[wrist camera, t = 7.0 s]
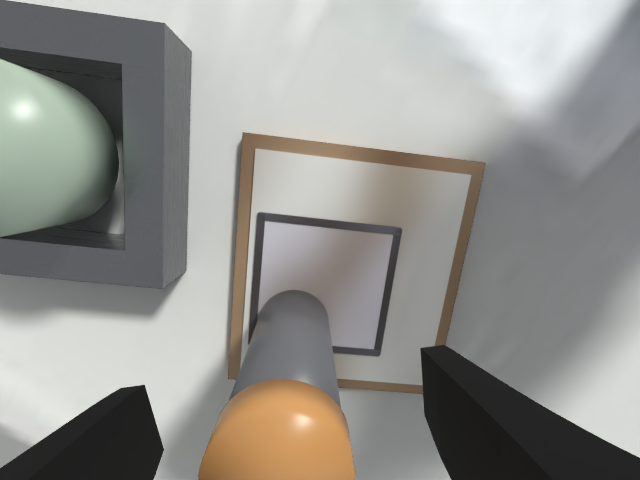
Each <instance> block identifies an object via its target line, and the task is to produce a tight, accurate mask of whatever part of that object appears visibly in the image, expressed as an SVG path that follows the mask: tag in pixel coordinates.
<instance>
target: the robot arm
mask: <svg viewBox="0 0 640 480" xmlns="http://www.w3.org/2000/svg"><path fill="white" fill-rule="evenodd" d="M420 351H421V367H422V382H423V398H424V413H425V417H426V420H427V423H428V425H429V428H430V431H431V434H432V436H433V439H434V441H435V444H436V447H437V449H438V452H439V454H440V457H441V459H442V461H443V463H444V465H445V467H446V469H447V471H448V473H449V475H450V478H451V480H640V458H639V457H637V456H635V455H633V454H631V453H629V452H627V451H625V450H623V449H621V448H619V447H617V446H615V445H613V444H611V443H609V442H607V441H605V440H603V439H601V438H599V437H597V436H595V435H594V434H592V433H590V432H588V431H586V430H584V429H583V428H581V427H579V426H577V425H575V424H574V423H572V422H570V421H568V420H566V419H565V418H563V417H561V416H559V415H557V414H556V413H554V412H552V411H550V410H548V409H547V408H545V407H543V406H542V405H540V404H538V403H537V402H535V401H533V400H531V399H530V398H528V397H526V396H525V395H523V394H521V393H520V392H518V391H516V390H515V389H513V388H512V387H510V386H508V385H507V384H505V383H503V382H502V381H500V380H499V379H497V378H496V377H494V376H492V375H491V374H489V373H488V372H486V371H484V370H483V369H481V368H480V367H478V366H477V365H475V364H474V363H472V362H470V361H469V360H467V359H466V358H464V357H463V356H461V355H460V354H458V353H456V352H455V351H453V350H452V349H450V348H448V347H447V346H445V345H439V346H431V347H424V348H420ZM163 451H164V448H163V445H162V442H161V438H160V435H159V432H158V428H157V425H156V422H155V418H154V415H153V412H152V408H151V405H150V402H149V398H148V395H147V392H146V388H145V385H141V386H133V387H126V388H121V389H119V390H117V391H115V392H114V393H112V394H110V395H109V396H107V397H105V398H104V399H102V400H101V401H99V402H98V403H96V404H94V405H93V406H91V407H90V408H88V409H87V410H85V411H84V412H82V413H81V414H79V415H78V416H76V417H75V418H74V419H72V420H71V421H69V422H68V423H66V424H65V425H63V426H62V427H60V428H59V429H57V430H56V431H54V432H53V433H52V434H50V435H49V436H47V437H46V438H44V439H43V440H41V441H40V442H38V443H37V444H35V445H34V446H33V447H31V448H30V449H28V450H27V451H25V452H24V453H22V454H21V455H19V456H18V457H16V458H15V459H13V460H12V461H11V462H9V463H8V464H6V465H4V466H3V467H2V468H0V480H153V479H154V476H155V474H156V471H157V468H158V465H159V462H160V459H161V457H162V454H163Z"/></svg>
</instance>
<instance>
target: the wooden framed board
mask: <svg viewBox="0 0 640 480" xmlns="http://www.w3.org/2000/svg"><path fill="white" fill-rule="evenodd" d="M485 164H486V163H483V162H475V161H467V160H459V159H451V158H443V157H435V156H427V155H419V154H411V153H403V152H395V151H387V150H379V149H371V148H363V147H355V146H347V145H339V144H331V143H323V142H315V141H307V140H299V139H292V138H284V137H276V136H268V135H260V134H252V133H244V132H243V136H242V153H241V169H240V186H239V203H238V220H237V237H236V253H235V270H234V287H233V304H232V321H231V337H230V354H229V371H228V379H236V380H237V377H238V374H239V372H240V369H241V366H242V363H243V360H244V358H245V355H246V352H247V349H248V346H249V344H250V341H251V338H252V335H253V332H254V329H255V327H256V324H257V321H258V318H259V315H260V313H261V310H262V308H263V306H264V305H265V303H266V302H267V301H268V300H269V299H270V298H271V297H273V296H274V295H276V294H278V293H280V292H283V291H287V290H300V291H305V292H308V293H310V294H312V295H313V296H315V297H316V298H317V299H319V300H320V301H321V303H322V304H323V305H324V307H325V309H326V311H327V314H328V319H329V326H330V334H331V341H332V348H333V355H334V362H335V370H336V377H337V384H338V387H340V388H353V389H366V390H378V391H391V392H404V393H417V394H423V382H422V367H421V351H420V348H424V347H431V346H439V345H445V343H446V339H447V334H448V330H449V325H450V321H451V316H452V312H453V307H454V303H455V299H456V294H457V290H458V285H459V281H460V276H461V272H462V267H463V263H464V258H465V254H466V249H467V245H468V240H469V236H470V231H471V227H472V223H473V218H474V214H475V209H476V205H477V200H478V196H479V191H480V187H481V182H482V178H483V173H484V169H485Z"/></svg>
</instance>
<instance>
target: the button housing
mask: <svg viewBox="0 0 640 480" xmlns="http://www.w3.org/2000/svg"><path fill="white" fill-rule="evenodd" d="M191 55H192V51H191V50H190V49H189V48H188V47H187V46H186V45H185V44H184V43H183V42H182V41H181V40H180V39H179V38H178V37H177V36H176V35H175V33H174V32H173V31H172V30H171V29H170V28H169V27H168V26H167V25H166V24H165V23H160V22H153V21H146V20H139V19H132V18H125V17H118V16H111V15H104V14H97V13H90V12H83V11H77V10H70V9H63V8H56V7H49V6H42V5H35V4H28V3H21V2H14V1H7V0H0V59H2V60H5V61H7V62H10V63H13V64H15V65H18V66H24V67H32V68H39V69H47V70H54V71H62V72H69V73H77V74H85V75H92V76H100V77H107V78H115V79H122V102H123V155H124V207H125V235H119V234H110V233H100V232H90V231H80V230H71V229H61V228H51V227H48V228H43V229H38V230H33V231H28V232H23V233H18V234H13V235H8V236H3V237H0V274H9V275H20V276H30V277H41V278H52V279H63V280H73V281H84V282H95V283H105V284H116V285H127V286H137V287H148V288H159V289H163V288H164V287H166V286H167V285H168V284H169V283H171V282H172V281H173V280H175V279H176V278H177V277H178V276H180V275H181V274H182V273H184V272H185V271H186V258H187V218H188V177H189V136H190V96H191Z"/></svg>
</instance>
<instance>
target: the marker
mask: <svg viewBox="0 0 640 480" xmlns="http://www.w3.org/2000/svg"><path fill="white" fill-rule="evenodd" d="M199 480H355V469H354V463H353V456H352V450H351V444H350V437H349V431H348V426H347V421H346V418H345V416H344V414H343V412H342V410H341V406H340V398H339V391H338V384H337V377H336V370H335V362H334V355H333V348H332V341H331V334H330V326H329V319H328V314H327V311H326V309H325V307H324V305H323V304H322V303H321V301H320V300H319V299H317V298H316V297H315V296H313V295H312V294H310V293H308V292H305V291H300V290H287V291H283V292H280V293H278V294H276V295H274V296H273V297H271V298H270V299H269V300H268V301H267V302H266V303H265V305H264V306H263V308H262V310H261V313H260V315H259V318H258V321H257V324H256V327H255V329H254V332H253V335H252V338H251V341H250V344H249V346H248V349H247V352H246V355H245V358H244V360H243V363H242V366H241V369H240V372H239V374H238V377H237V380H236V383H235V386H234V388H233V391H232V394H231V397H230V400H229V402H228V403H227V404H226V405H225V407H224V408H223V410H222V411H221V413H220V415H219V417H218V420H217V422H216V425H215V428H214V430H213V433H212V436H211V438H210V441H209V444H208V446H207V449H206V451H205V454H204V457H203V459H202V463H201V466H200V470H199Z"/></svg>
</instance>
